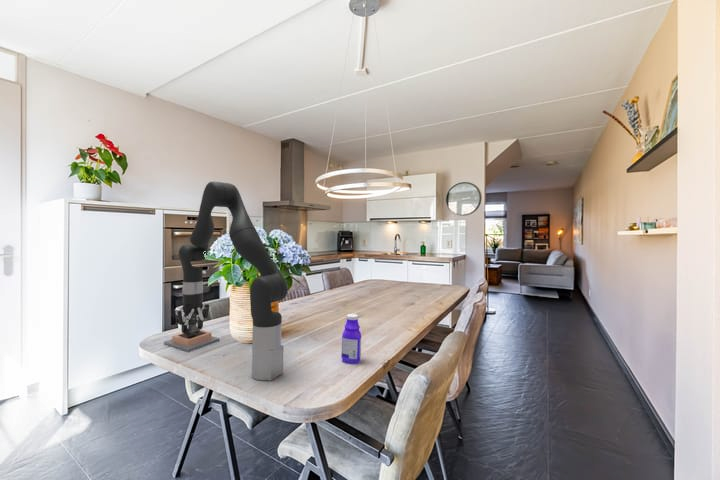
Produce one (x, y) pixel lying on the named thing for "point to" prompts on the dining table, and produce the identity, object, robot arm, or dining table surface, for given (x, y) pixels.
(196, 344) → the tray
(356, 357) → the bottle
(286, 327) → the dining table surface
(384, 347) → the dining table surface
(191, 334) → the dark grey upright piece
